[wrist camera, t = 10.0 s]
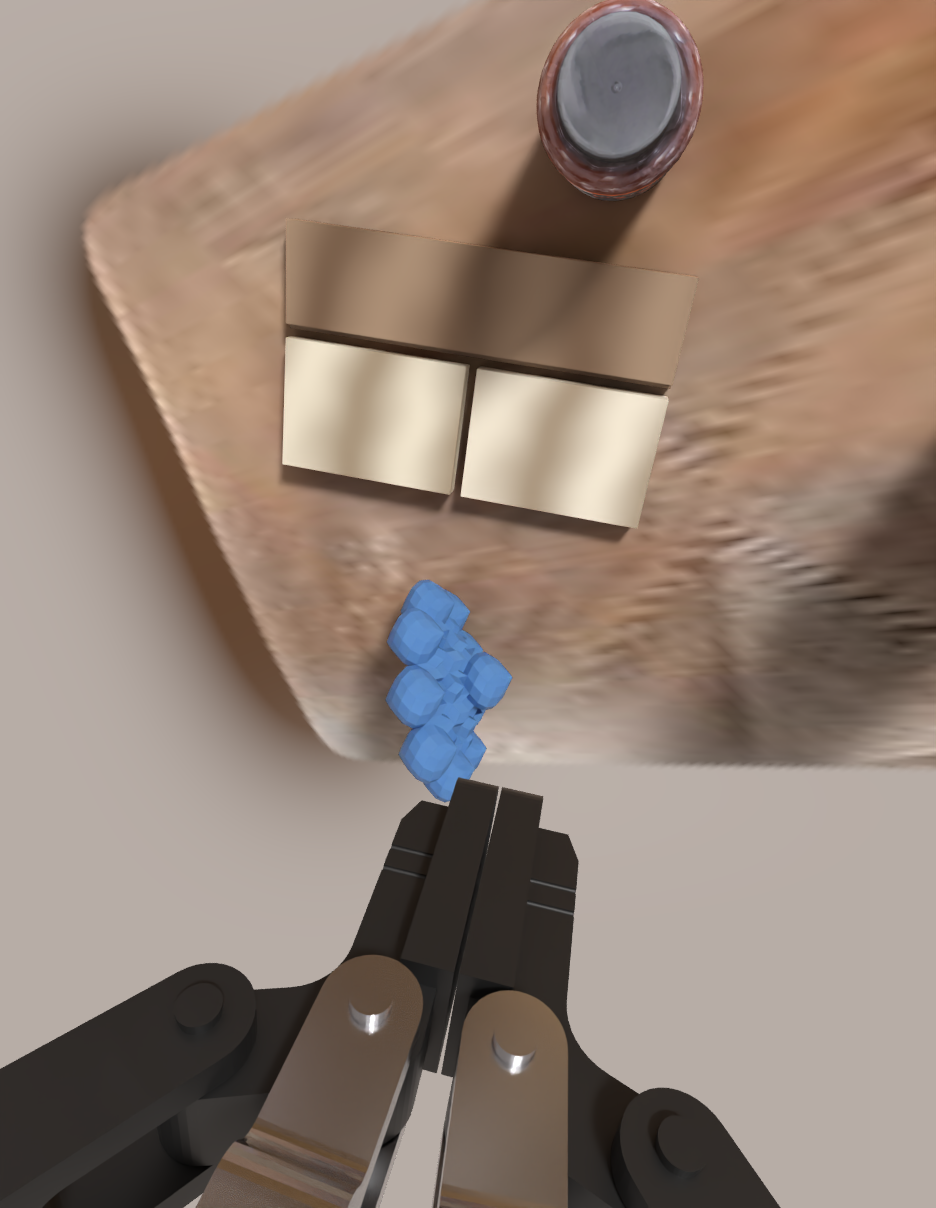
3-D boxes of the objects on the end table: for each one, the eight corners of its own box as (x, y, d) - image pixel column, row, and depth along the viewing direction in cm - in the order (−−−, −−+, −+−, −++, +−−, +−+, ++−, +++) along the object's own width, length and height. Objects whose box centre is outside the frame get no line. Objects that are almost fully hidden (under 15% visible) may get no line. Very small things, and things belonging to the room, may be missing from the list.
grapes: (546, 703, 49) (523, 834, 38) (450, 714, 51) (404, 842, 40) (502, 543, 44) (463, 643, 34) (399, 562, 46) (332, 663, 35)
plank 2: (667, 396, 38) (668, 400, 37) (636, 521, 41) (637, 528, 40) (480, 366, 39) (476, 368, 38) (464, 490, 42) (460, 496, 41)
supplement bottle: (595, 229, 35) (581, 232, 26) (529, 110, 34) (488, 64, 24) (711, 145, 33) (745, 113, 23) (646, 12, 31) (654, -84, 22)
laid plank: (697, 276, 36) (698, 277, 34) (669, 386, 38) (670, 391, 37) (295, 218, 38) (285, 218, 37) (294, 326, 40) (285, 329, 39)
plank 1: (470, 364, 40) (465, 366, 38) (454, 489, 42) (449, 494, 41) (294, 335, 41) (285, 337, 40) (290, 459, 44) (282, 463, 42)
